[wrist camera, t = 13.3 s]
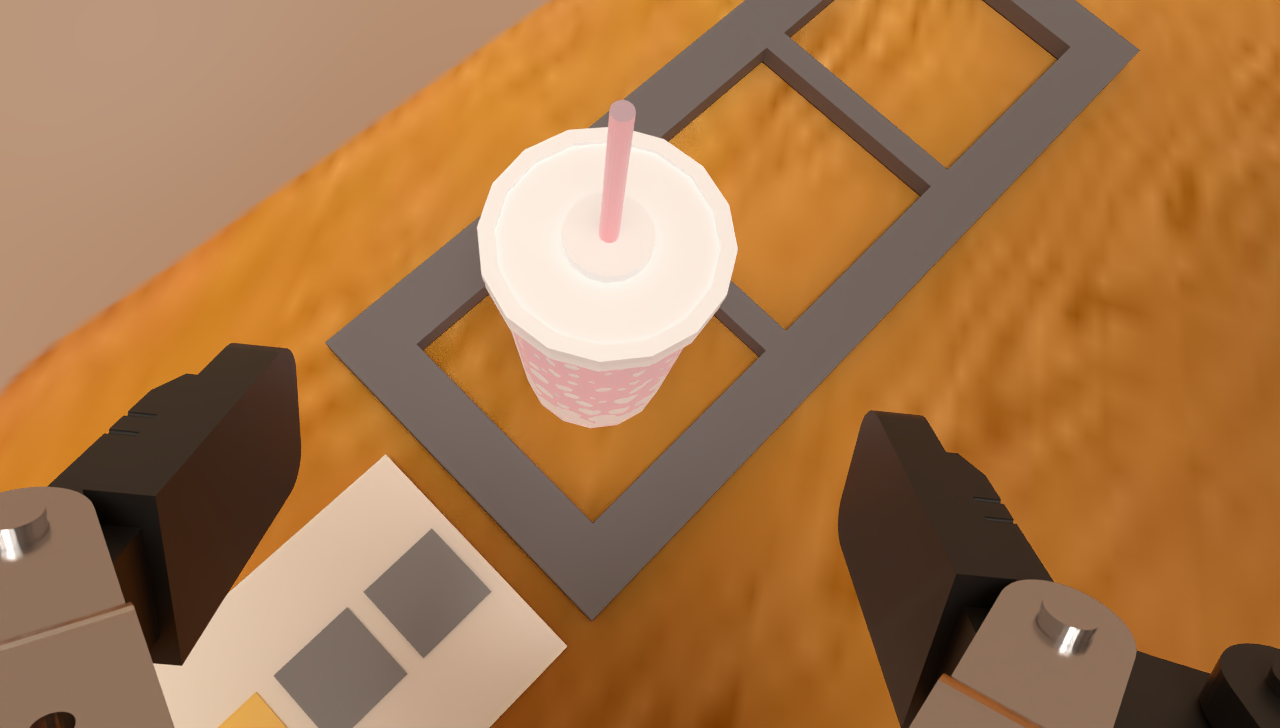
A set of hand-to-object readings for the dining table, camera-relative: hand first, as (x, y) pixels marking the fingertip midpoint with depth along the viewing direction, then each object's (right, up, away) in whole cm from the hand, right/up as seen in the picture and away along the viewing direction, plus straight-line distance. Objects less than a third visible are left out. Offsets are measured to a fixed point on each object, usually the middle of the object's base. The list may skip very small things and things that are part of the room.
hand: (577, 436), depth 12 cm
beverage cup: (-1, +1, +17) cm, 17 cm away
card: (-8, -8, +13) cm, 17 cm away
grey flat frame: (+6, +7, +19) cm, 21 cm away
